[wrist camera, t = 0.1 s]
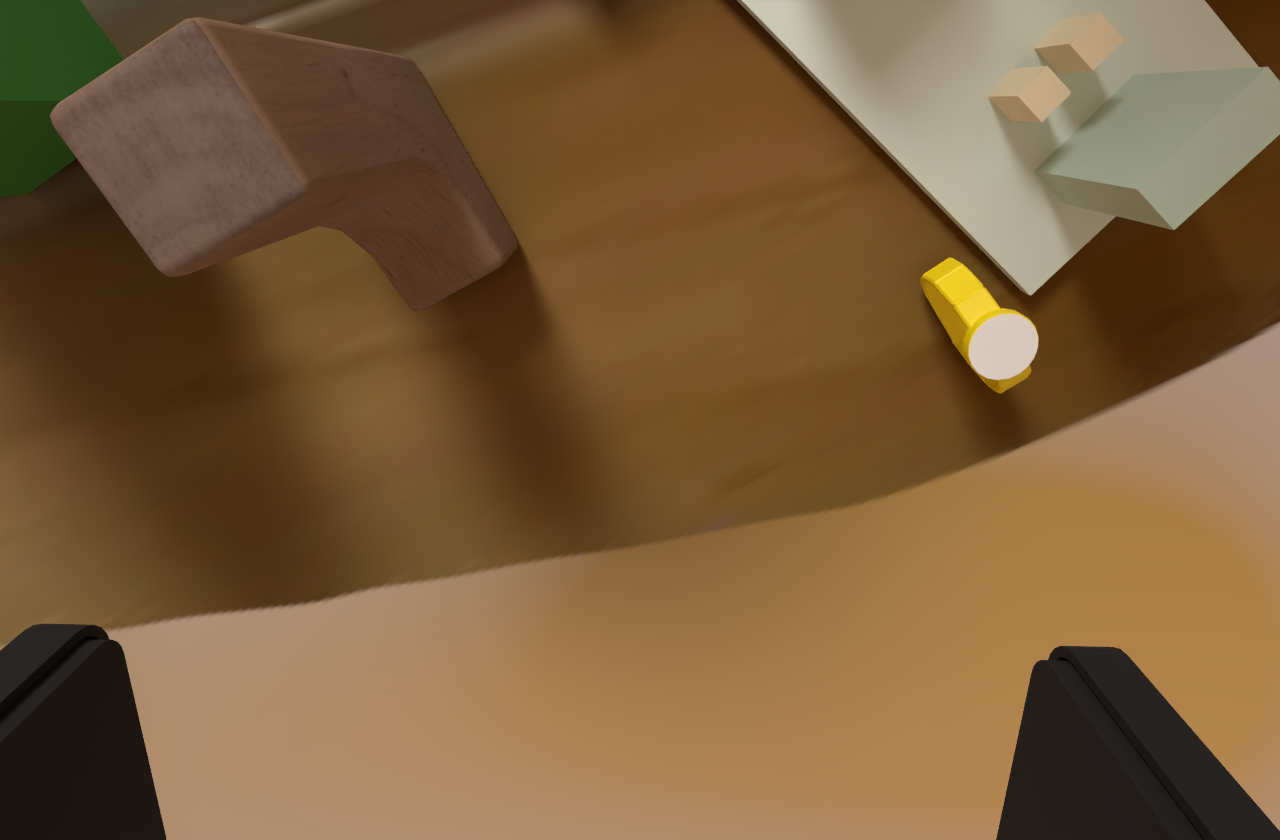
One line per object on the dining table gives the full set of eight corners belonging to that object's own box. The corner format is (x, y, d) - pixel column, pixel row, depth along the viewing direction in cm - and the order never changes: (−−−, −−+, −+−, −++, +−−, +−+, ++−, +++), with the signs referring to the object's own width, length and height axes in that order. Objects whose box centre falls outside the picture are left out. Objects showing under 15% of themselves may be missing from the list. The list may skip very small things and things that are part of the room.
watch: (1005, 342, 40) (1069, 389, 34) (952, 374, 40) (1006, 426, 35) (948, 236, 38) (1006, 268, 32) (892, 272, 38) (940, 310, 33)
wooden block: (523, 246, 38) (420, 361, 21) (438, 293, 39) (274, 440, 22) (411, 53, 35) (191, 7, 18) (322, 107, 36) (33, 111, 19)
